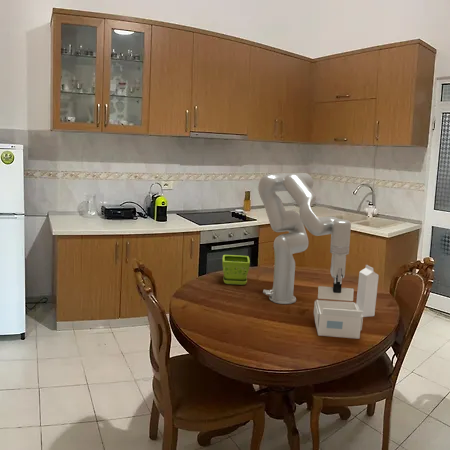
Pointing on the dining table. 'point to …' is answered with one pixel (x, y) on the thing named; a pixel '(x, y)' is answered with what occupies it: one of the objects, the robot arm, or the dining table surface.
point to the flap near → (342, 312)
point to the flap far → (329, 294)
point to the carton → (337, 320)
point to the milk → (367, 291)
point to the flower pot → (230, 269)
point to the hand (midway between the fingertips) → (336, 292)
